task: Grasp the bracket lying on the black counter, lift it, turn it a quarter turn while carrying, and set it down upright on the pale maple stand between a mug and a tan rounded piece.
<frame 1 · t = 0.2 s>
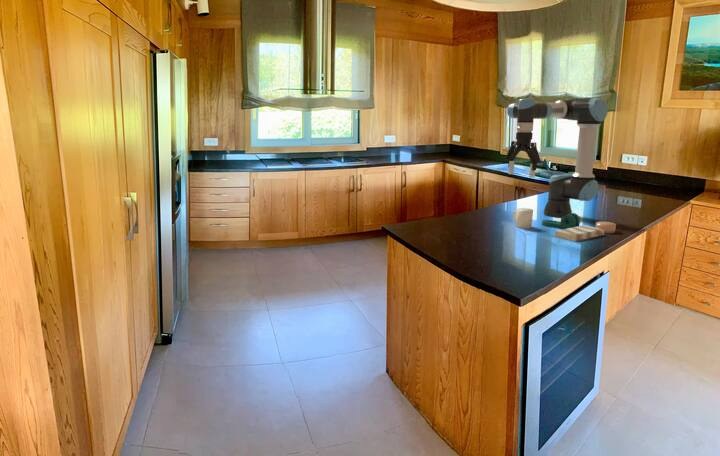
hand: (521, 175, 246), 28 cm above the countertop, fingers open, 13 cm apart
stand: (579, 235, 241), on the countertop
bracket: (558, 227, 259), on the countertop
mug: (523, 226, 259), on the countertop
tan rounded piece: (605, 231, 250), on the countertop
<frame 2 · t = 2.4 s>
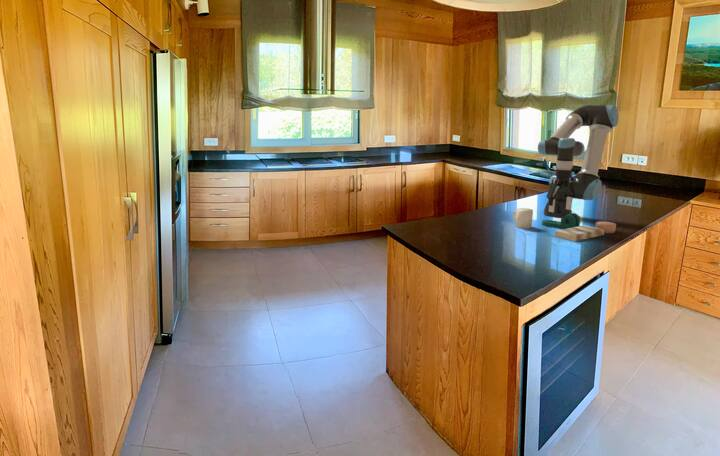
hand: (559, 210, 256), 9 cm above the countertop, fingers open, 13 cm apart
nothing on the countertop moved.
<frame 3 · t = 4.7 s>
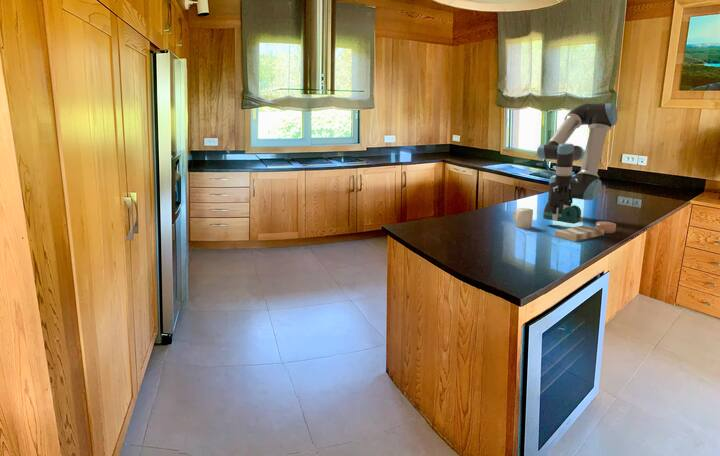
hand: (560, 218, 258), 4 cm above the countertop, fingers closed on bracket, 7 cm apart
bracket: (560, 220, 258), point 3 cm above the countertop, touching gripper
everything else where it was.
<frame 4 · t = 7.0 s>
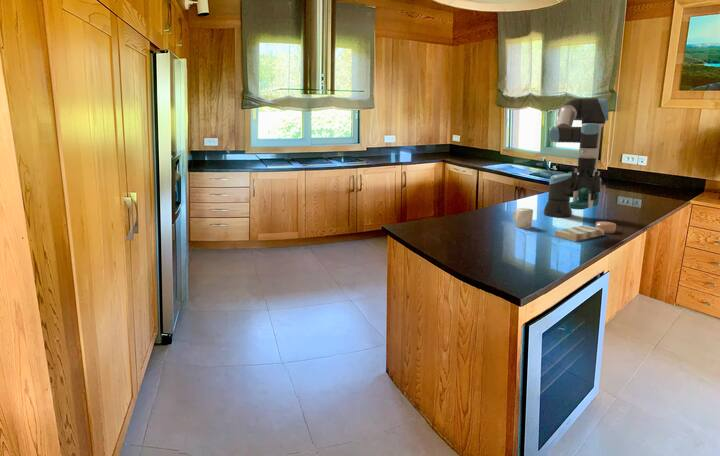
hand: (582, 205, 238), 15 cm above the countertop, fingers closed on bracket, 7 cm apart
bracket: (582, 206, 238), point 14 cm above the countertop, touching gripper
everything else where it was.
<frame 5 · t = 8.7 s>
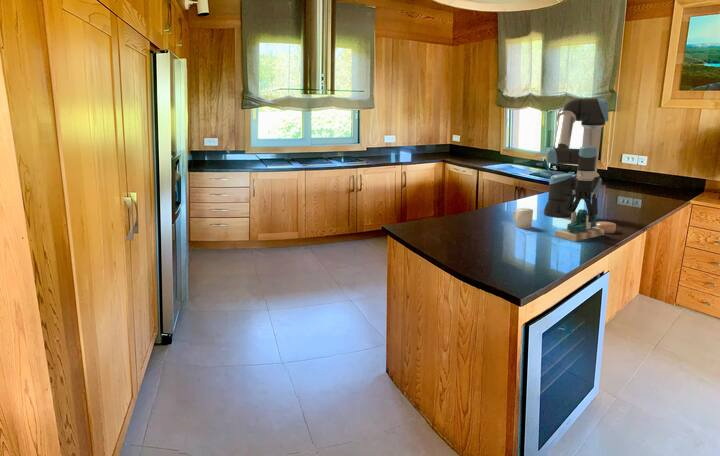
hand: (580, 227, 240), 4 cm above the countertop, fingers closed on bracket, 7 cm apart
bracket: (580, 228, 240), point 4 cm above the countertop, touching gripper
everything else where it was.
when the fingers open (3 cm above the countertop, at t = 9.4 s): bracket stays where it is, resting on stand.
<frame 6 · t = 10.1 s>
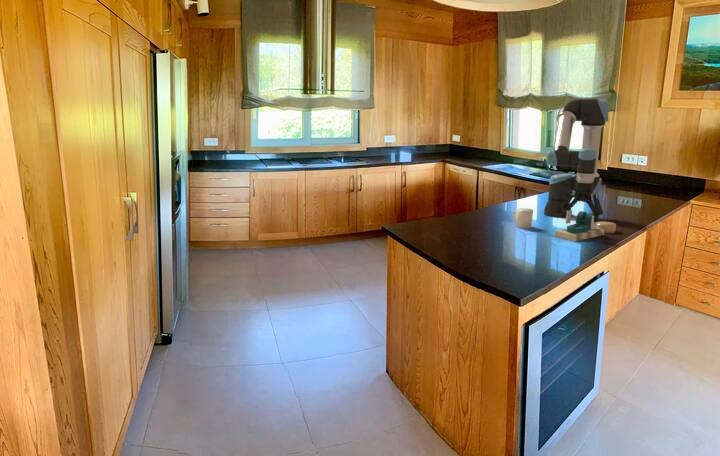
hand: (580, 226, 240), 5 cm above the countertop, fingers open, 13 cm apart
bracket: (579, 230, 240), point 3 cm above the countertop, touching stand
everything else where it was.
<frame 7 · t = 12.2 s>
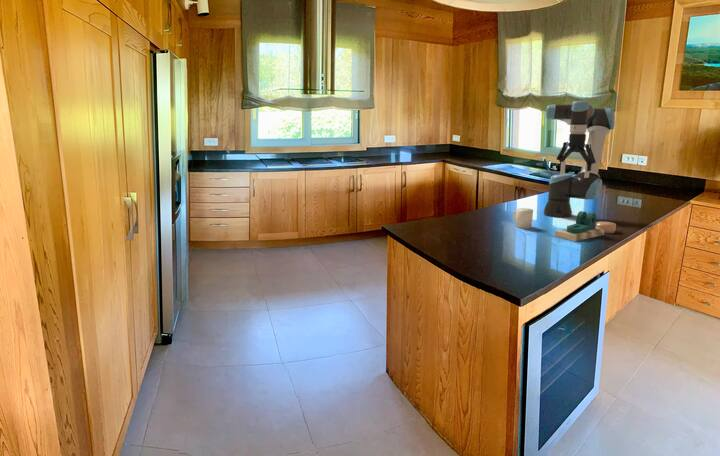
hand: (574, 175, 253), 26 cm above the countertop, fingers open, 13 cm apart
nothing on the countertop moved.
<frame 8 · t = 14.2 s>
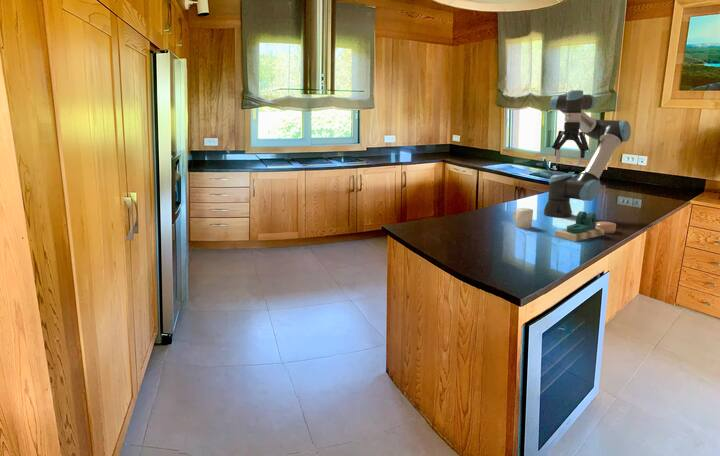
hand: (568, 163, 260), 32 cm above the countertop, fingers open, 13 cm apart
nothing on the countertop moved.
at the end: bracket inside the target area on the stand (0.1 cm from its centre), point 2.6 cm above the stand's base; bracket tilted 0°; the gripper is holding nothing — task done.
